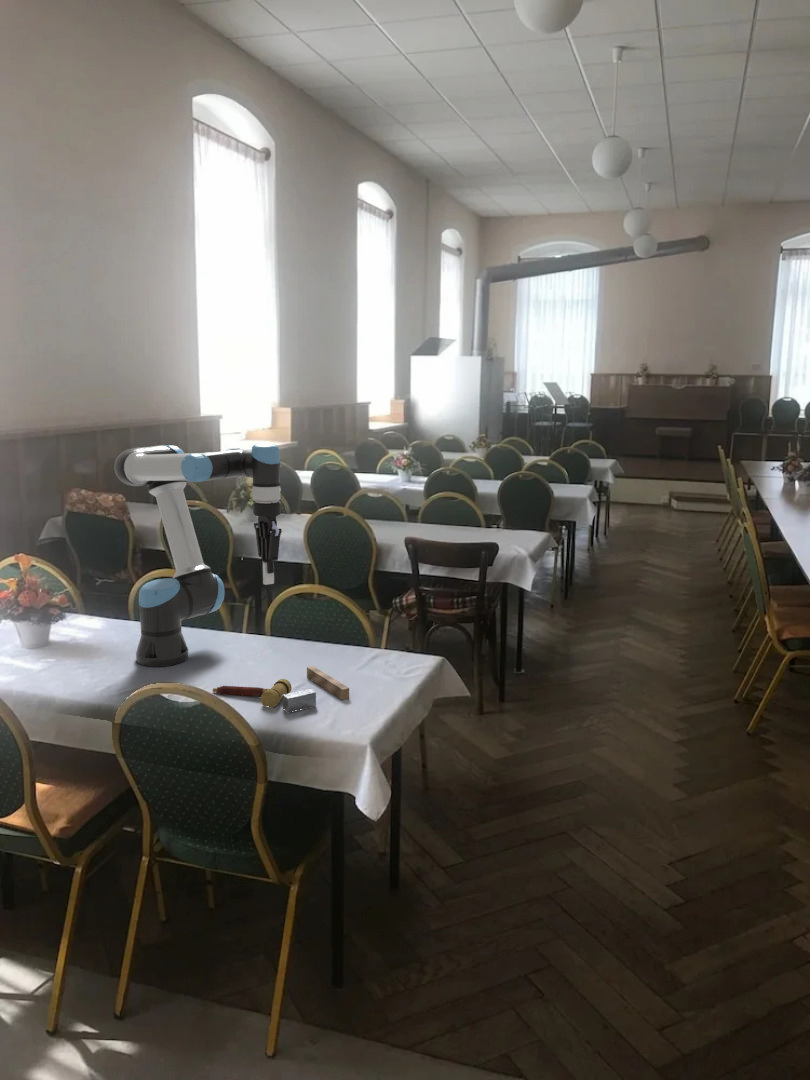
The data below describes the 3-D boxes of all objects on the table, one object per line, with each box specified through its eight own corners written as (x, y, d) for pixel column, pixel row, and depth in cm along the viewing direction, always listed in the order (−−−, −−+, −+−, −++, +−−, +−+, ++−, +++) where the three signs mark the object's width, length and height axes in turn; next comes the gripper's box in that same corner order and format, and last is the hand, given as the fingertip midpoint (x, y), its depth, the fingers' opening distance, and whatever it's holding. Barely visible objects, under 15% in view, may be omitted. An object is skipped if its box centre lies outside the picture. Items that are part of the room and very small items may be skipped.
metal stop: (283, 709, 219) (282, 694, 219) (310, 702, 224) (310, 688, 223) (288, 713, 217) (288, 698, 216) (316, 706, 221) (315, 692, 221)
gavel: (202, 688, 225) (220, 675, 235) (204, 704, 226) (222, 691, 235) (276, 692, 219) (291, 678, 229) (277, 709, 220) (292, 695, 230)
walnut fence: (306, 677, 242) (306, 667, 241) (313, 675, 243) (313, 665, 243) (342, 700, 226) (342, 689, 225) (349, 698, 227) (349, 687, 226)
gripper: (289, 503, 232) (291, 586, 237) (268, 496, 242) (270, 577, 247) (264, 505, 228) (266, 590, 233) (244, 498, 238) (246, 580, 243)
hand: (268, 583), depth 240 cm, fingers closed
